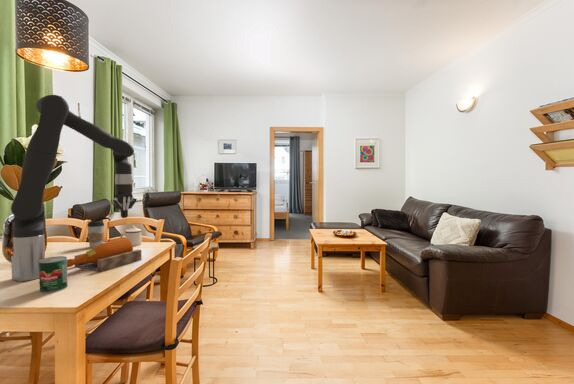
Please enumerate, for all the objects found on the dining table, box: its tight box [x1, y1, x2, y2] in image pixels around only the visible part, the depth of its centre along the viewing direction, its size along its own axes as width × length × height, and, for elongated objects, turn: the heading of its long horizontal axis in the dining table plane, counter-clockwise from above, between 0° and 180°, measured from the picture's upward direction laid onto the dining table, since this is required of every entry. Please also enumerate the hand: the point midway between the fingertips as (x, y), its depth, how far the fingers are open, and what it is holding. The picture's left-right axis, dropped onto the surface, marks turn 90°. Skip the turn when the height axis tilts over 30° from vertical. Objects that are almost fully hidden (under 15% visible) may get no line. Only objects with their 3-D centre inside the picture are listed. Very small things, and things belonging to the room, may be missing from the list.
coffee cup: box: [87, 220, 105, 249], centre depth 163 cm, size 8×8×15 cm
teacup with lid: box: [119, 225, 143, 247], centre depth 169 cm, size 12×9×12 cm
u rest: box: [74, 249, 142, 273], centre depth 132 cm, size 20×18×5 cm
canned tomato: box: [38, 255, 69, 294], centre depth 100 cm, size 8×8×11 cm
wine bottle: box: [67, 237, 134, 268], centre depth 126 cm, size 10×10×30 cm
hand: (124, 217), depth 139 cm, fingers closed
